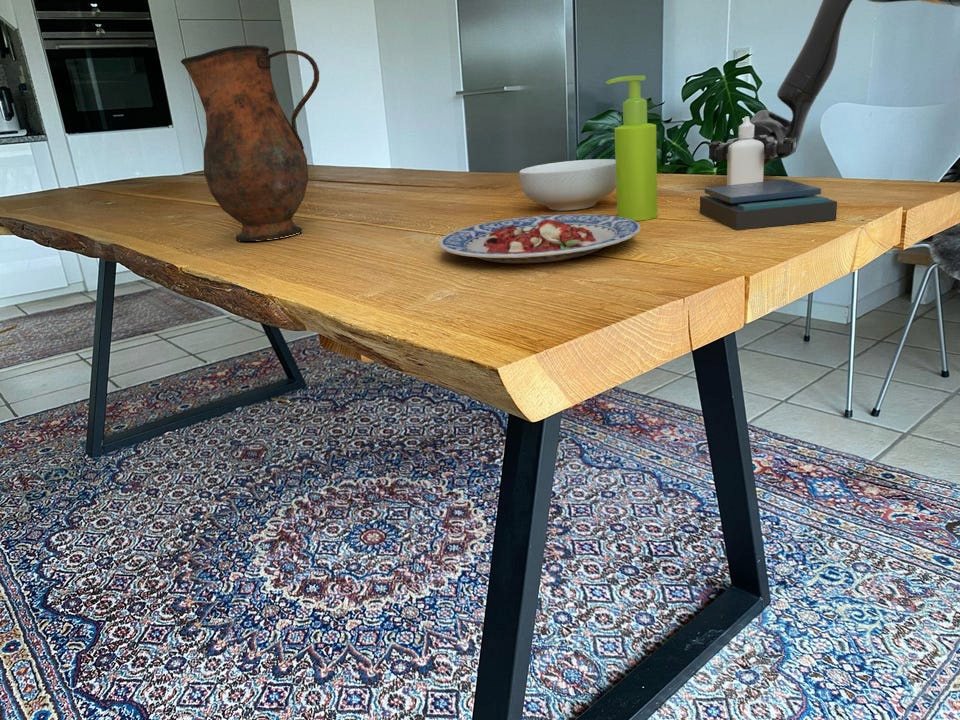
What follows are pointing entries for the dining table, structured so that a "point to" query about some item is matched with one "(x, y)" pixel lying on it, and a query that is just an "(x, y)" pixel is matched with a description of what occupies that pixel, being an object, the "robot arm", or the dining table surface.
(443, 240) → the ceramic plate
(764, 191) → the scale plate
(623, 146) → the soap dispenser
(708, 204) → the scale
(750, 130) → the eye dropper bottle
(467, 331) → the dining table surface
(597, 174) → the cereal bowl
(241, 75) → the pitcher
